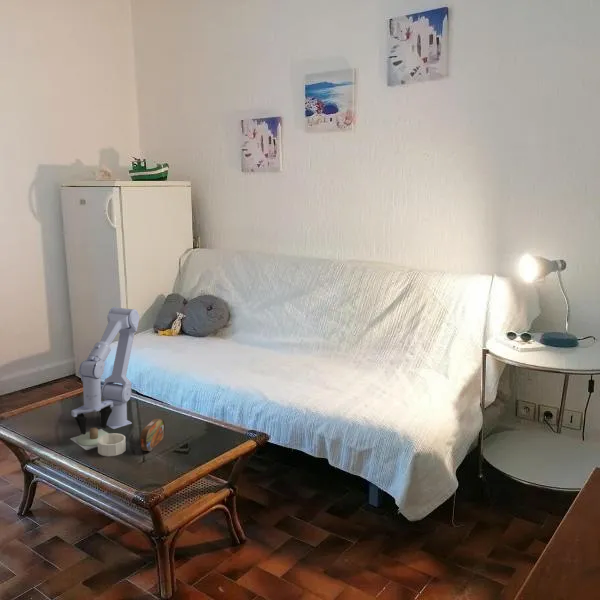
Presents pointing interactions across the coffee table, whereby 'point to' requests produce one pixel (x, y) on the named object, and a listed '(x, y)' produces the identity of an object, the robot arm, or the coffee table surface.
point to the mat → (82, 445)
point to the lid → (91, 437)
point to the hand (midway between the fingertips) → (93, 430)
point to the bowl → (111, 444)
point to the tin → (152, 434)
